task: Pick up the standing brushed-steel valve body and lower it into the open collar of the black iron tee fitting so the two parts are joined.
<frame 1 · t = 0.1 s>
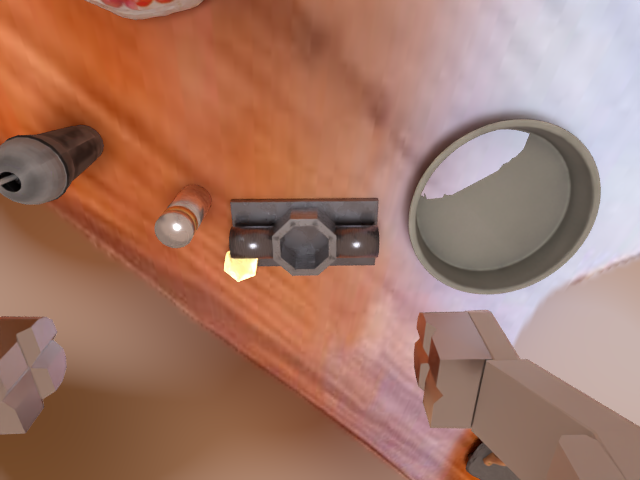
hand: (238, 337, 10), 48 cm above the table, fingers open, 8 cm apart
serving board: (560, 457, 85), on the table
yellow piece: (243, 261, 62), point 1 cm above the table, tilted 20°, touching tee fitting
beverage cup: (86, 142, 56), on the table
cake pan: (490, 202, 60), on the table
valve: (195, 199, 59), on the table
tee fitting: (305, 231, 62), on the table
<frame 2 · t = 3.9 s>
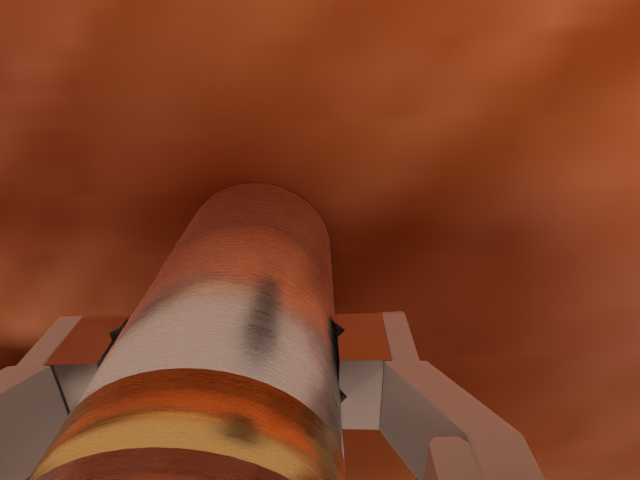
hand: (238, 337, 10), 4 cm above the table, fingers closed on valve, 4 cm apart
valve: (259, 250, 13), on the table, touching gripper
when the fingers open (6 cm above the table, at t = 9.1 s): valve stays where it is, resting on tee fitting.
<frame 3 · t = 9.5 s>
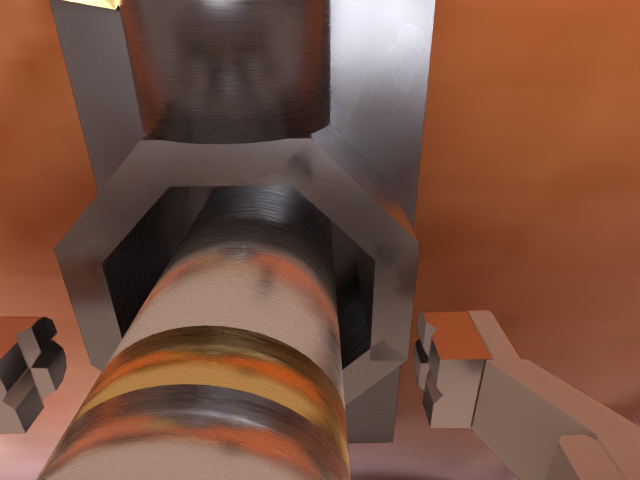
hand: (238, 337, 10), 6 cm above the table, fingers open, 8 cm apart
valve: (265, 237, 14), point 1 cm above the table, touching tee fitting
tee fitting: (264, 224, 15), on the table
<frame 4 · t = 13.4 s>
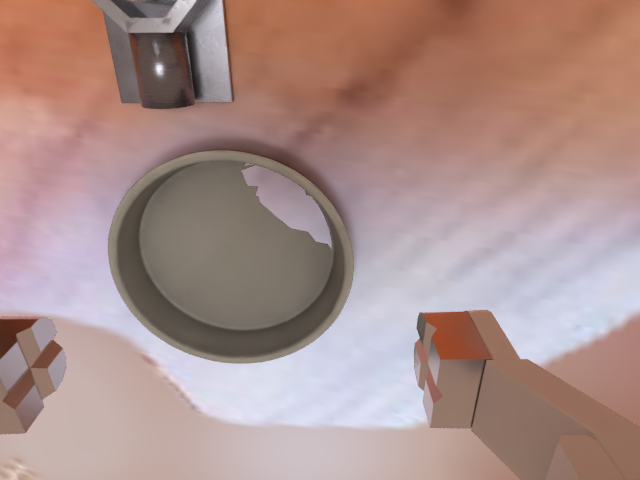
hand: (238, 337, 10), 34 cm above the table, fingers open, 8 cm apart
cake pan: (239, 249, 48), on the table
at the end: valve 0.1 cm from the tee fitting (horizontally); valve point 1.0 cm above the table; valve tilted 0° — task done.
